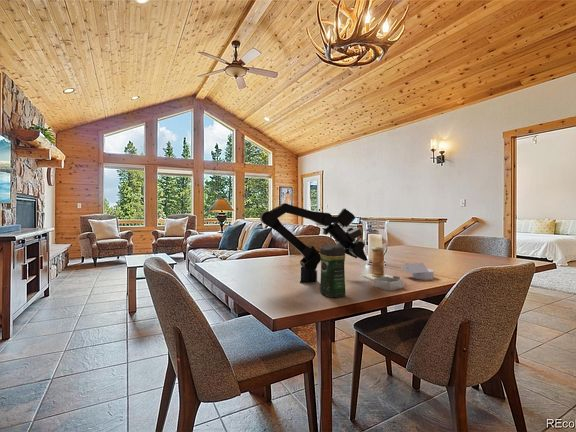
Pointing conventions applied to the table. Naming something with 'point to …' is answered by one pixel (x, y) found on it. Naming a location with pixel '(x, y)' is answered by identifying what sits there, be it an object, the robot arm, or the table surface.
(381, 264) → the brown cylinder
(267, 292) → the table surface
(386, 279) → the white open box
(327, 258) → the coffee jar
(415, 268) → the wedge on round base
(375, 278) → the mat
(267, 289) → the table surface
